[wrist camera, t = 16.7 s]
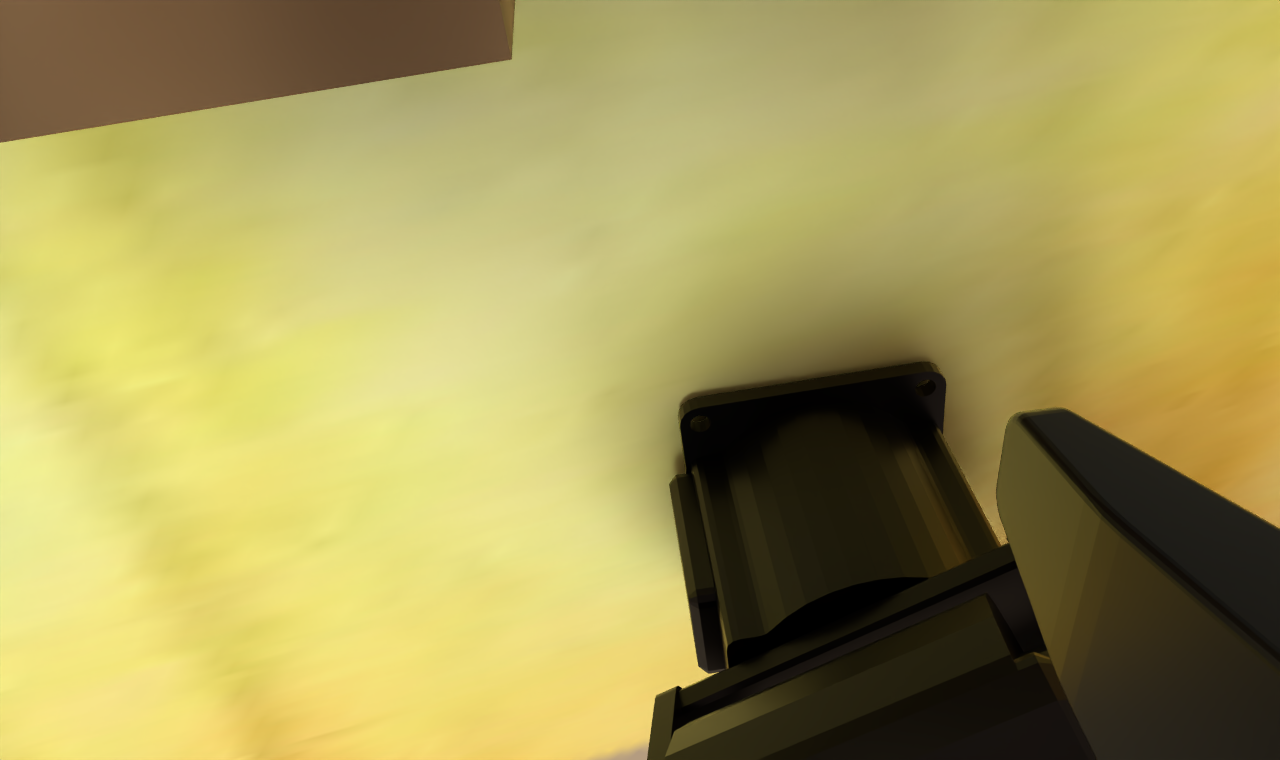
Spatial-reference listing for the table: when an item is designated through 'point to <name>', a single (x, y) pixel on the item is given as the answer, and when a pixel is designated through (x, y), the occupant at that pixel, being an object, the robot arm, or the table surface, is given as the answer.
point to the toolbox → (221, 53)
